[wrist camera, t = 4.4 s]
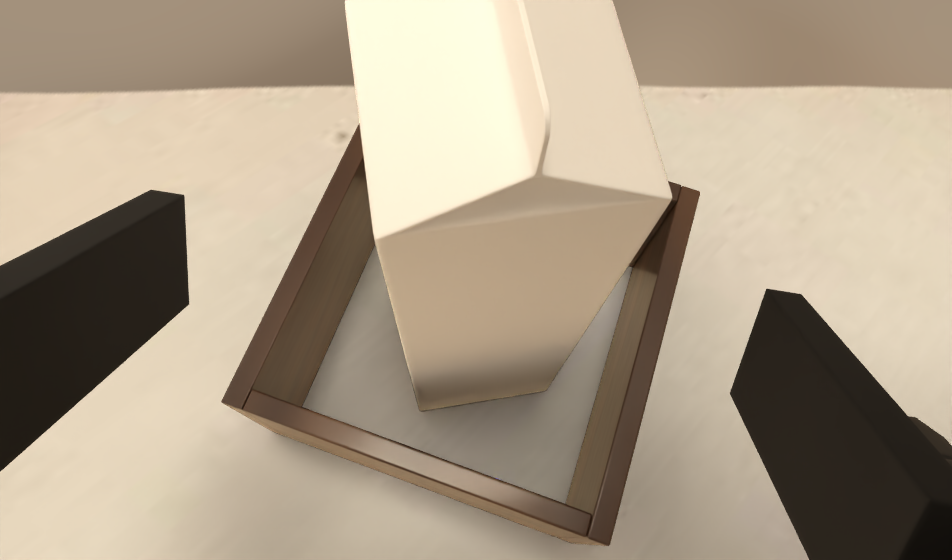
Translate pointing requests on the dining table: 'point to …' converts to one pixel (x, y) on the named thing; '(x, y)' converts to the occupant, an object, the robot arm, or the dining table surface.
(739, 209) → the dining table surface
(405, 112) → the milk
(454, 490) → the caddy
